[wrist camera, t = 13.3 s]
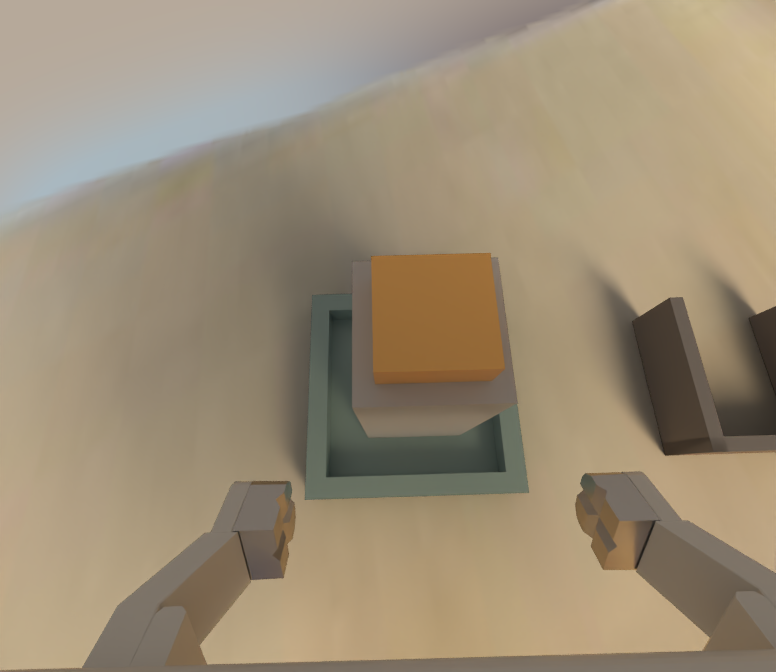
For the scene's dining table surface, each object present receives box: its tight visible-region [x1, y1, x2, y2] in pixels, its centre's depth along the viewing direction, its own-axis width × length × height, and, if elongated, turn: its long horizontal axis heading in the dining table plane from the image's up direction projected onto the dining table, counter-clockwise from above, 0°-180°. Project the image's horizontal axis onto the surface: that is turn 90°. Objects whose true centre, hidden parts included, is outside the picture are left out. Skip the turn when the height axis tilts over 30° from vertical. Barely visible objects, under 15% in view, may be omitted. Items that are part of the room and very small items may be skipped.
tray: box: [305, 294, 529, 500], centre depth 22 cm, size 11×11×2 cm
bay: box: [632, 297, 776, 456], centre depth 22 cm, size 8×8×4 cm
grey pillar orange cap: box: [352, 253, 518, 438], centre depth 17 cm, size 5×5×12 cm
